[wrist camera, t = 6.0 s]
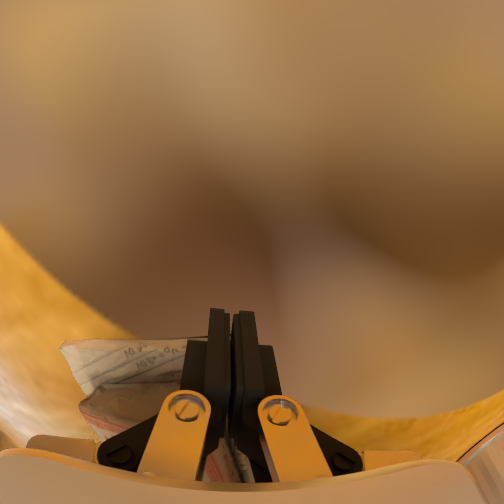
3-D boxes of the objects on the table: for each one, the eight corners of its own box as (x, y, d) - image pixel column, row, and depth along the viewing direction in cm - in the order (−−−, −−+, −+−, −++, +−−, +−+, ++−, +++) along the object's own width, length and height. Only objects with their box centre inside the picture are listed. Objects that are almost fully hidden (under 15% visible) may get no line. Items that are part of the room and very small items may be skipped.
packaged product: (272, 523, 16) (154, 521, 16) (267, 478, 20) (159, 479, 20) (257, 405, 9) (27, 393, 9) (249, 324, 14) (66, 332, 13)
